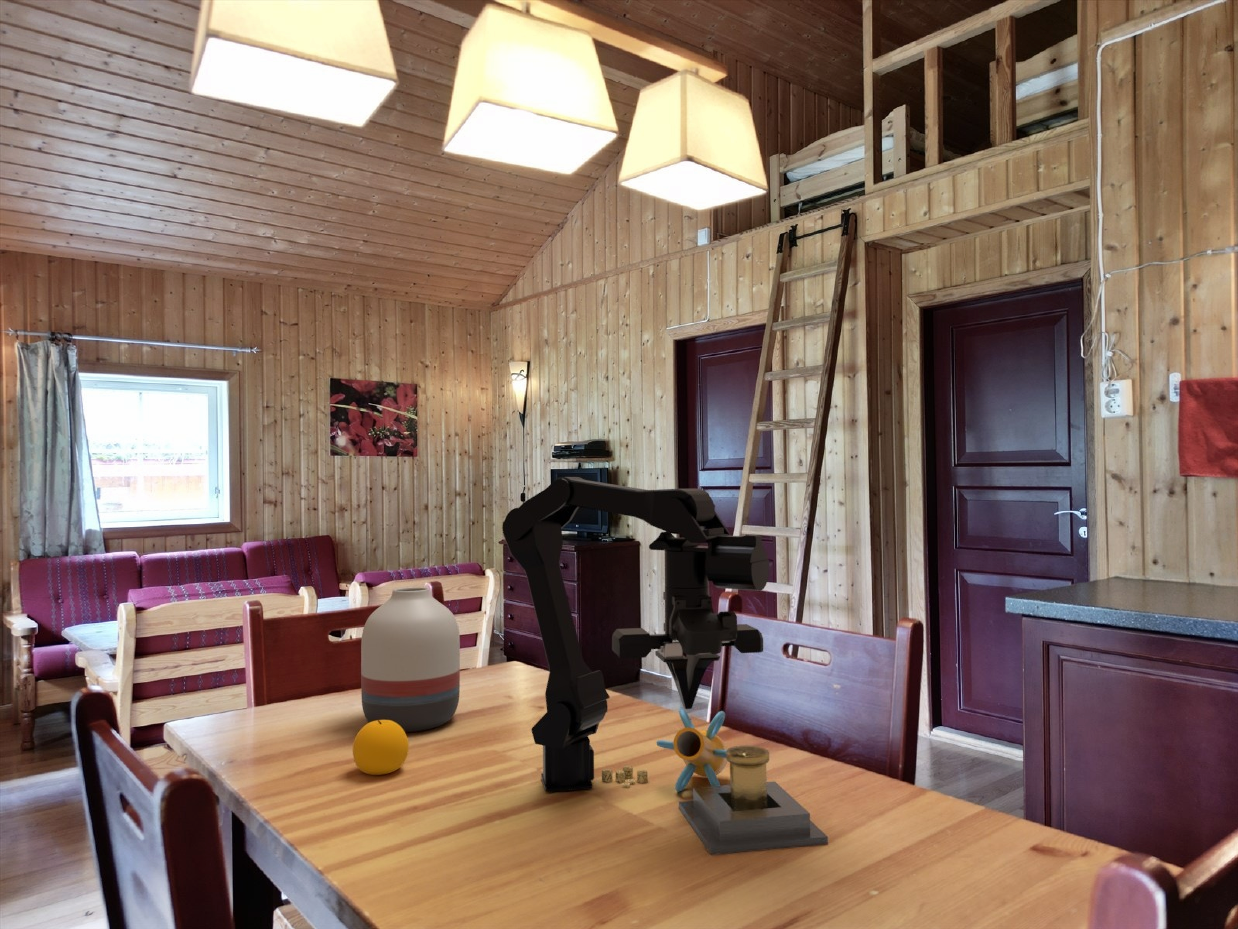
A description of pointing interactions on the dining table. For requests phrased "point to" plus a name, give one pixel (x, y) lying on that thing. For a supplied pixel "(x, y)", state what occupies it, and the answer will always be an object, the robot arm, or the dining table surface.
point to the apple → (380, 747)
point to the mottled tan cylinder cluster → (625, 776)
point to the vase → (410, 661)
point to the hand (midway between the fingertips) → (687, 708)
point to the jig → (749, 821)
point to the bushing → (748, 777)
